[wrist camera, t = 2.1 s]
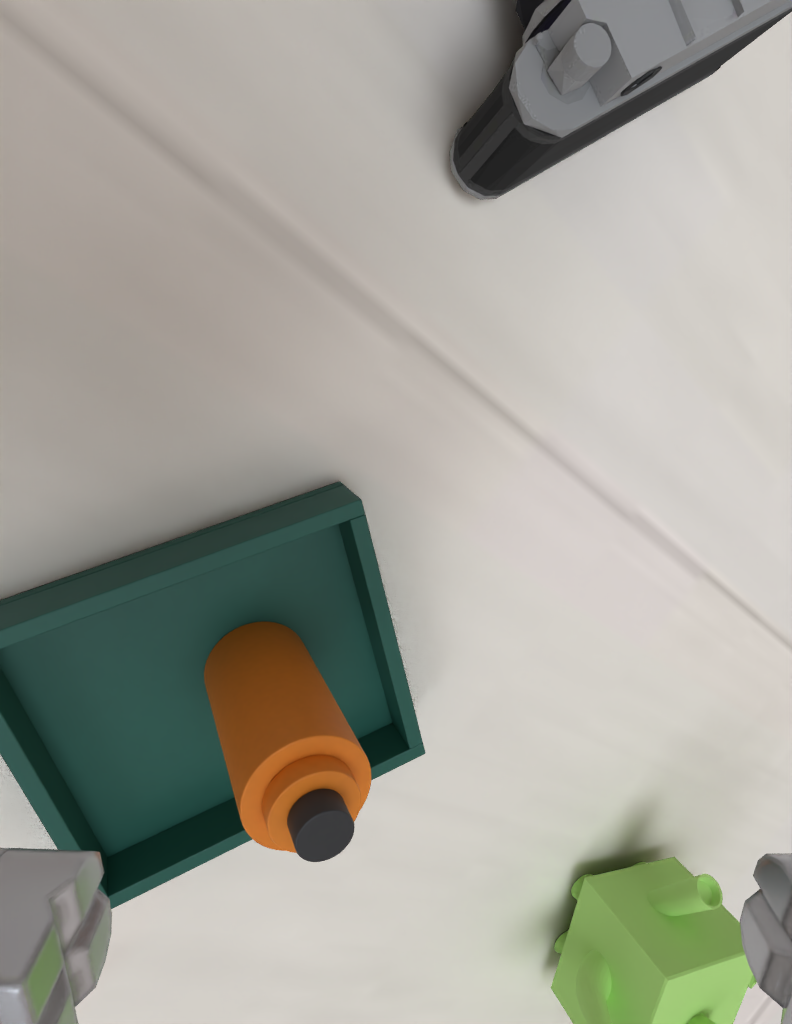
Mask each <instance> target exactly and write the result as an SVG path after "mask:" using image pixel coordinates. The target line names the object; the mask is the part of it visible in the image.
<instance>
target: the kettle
mask: <svg viewBox="0 0 792 1024" xmlns="http://www.w3.org/2000/svg"><path fill="white" fill-rule="evenodd" d="M571 894H572V896H573V897H574V898H575V899H576V900H577V904H576V908H575V911H574V914H573V917H572V921H571V924H570V927H569V930H568V931H566V932H564V933H563V934H562V935H561V936H560V937H559V938H558V939H557V941H556V942H555V946H554V949H555V951H556V952H558V953H561V956H560V960H559V963H558V966H557V969H556V973H555V976H554V979H553V983H552V986H551V989H552V991H553V992H554V994H555V995H556V997H557V998H558V1000H559V1002H560V1003H561V1005H562V1006H563V1008H564V1009H565V1011H566V1013H567V1014H568V1016H569V1017H570V1019H571V1020H572V1022H573V1024H733V1022H734V1020H735V1017H736V1015H737V1012H738V1010H739V1007H740V1005H741V1003H742V1000H743V998H744V995H745V993H746V990H747V988H748V987H750V988H752V987H753V986H754V985H755V984H756V982H757V981H756V979H755V977H754V975H753V973H752V971H751V969H750V967H749V965H748V961H747V958H746V955H745V952H744V949H743V946H742V938H741V928H740V923H739V922H738V921H737V920H736V919H735V918H734V917H733V916H732V915H731V914H730V912H729V911H728V910H727V909H726V908H725V907H724V906H723V905H722V899H723V898H722V891H721V889H720V886H719V884H718V883H717V881H716V880H715V879H714V878H713V877H711V876H710V875H708V874H702V875H699V876H696V877H694V876H693V875H692V874H691V873H690V872H689V871H688V870H687V869H686V868H685V867H684V866H683V865H682V864H681V863H680V862H679V861H678V860H677V859H676V858H675V857H672V858H667V859H663V860H659V861H654V862H650V863H645V862H639V863H636V864H635V865H633V866H632V867H628V868H624V869H620V870H616V871H611V872H607V873H602V874H598V875H594V876H593V875H592V874H586V875H583V876H581V877H580V878H579V879H578V880H577V881H576V882H575V883H574V885H573V886H572V889H571Z"/></svg>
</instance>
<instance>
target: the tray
mask: <svg viewBox="0 0 792 1024" xmlns="http://www.w3.org/2000/svg"><path fill="white" fill-rule="evenodd" d="M254 622H274V623H278V624H282V625H284V626H286V627H288V628H290V629H291V630H293V631H294V632H295V633H296V634H297V635H298V636H299V637H300V638H301V640H302V642H303V643H304V645H305V647H306V649H307V651H308V652H309V654H310V656H311V658H312V660H313V661H314V663H315V665H316V667H317V668H318V670H319V672H320V674H321V676H322V677H323V679H324V681H325V683H326V685H327V686H328V688H329V690H330V692H331V693H332V695H333V697H334V699H335V701H336V702H337V704H338V706H339V708H340V710H341V711H342V713H343V715H344V717H345V718H346V720H347V722H348V724H349V726H350V727H351V729H352V731H353V733H354V735H355V736H356V738H357V740H358V742H359V743H360V745H361V747H362V749H363V751H364V752H365V754H366V756H367V758H368V760H369V763H370V767H371V780H373V779H375V778H377V777H379V776H381V775H383V774H385V773H387V772H389V771H391V770H393V769H395V768H397V767H399V766H401V765H403V764H405V763H407V762H409V761H411V760H413V759H415V758H417V757H419V756H421V755H423V754H425V750H424V746H423V743H422V738H421V734H420V730H419V726H418V722H417V718H416V714H415V710H414V706H413V702H412V698H411V694H410V690H409V686H408V682H407V678H406V674H405V670H404V666H403V662H402V659H401V655H400V651H399V647H398V643H397V639H396V635H395V631H394V627H393V623H392V619H391V615H390V611H389V607H388V603H387V599H386V595H385V591H384V587H383V583H382V579H381V575H380V571H379V567H378V563H377V559H376V555H375V551H374V547H373V543H372V539H371V535H370V531H369V527H368V523H367V519H366V515H365V512H364V508H363V504H362V500H361V499H360V498H359V497H358V496H356V495H355V494H354V493H353V492H352V491H351V490H349V489H348V488H347V487H346V486H345V485H344V484H342V483H341V482H337V483H334V484H331V485H328V486H325V487H322V488H320V489H317V490H314V491H311V492H308V493H305V494H303V495H300V496H297V497H294V498H291V499H288V500H285V501H283V502H280V503H277V504H274V505H271V506H268V507H265V508H263V509H260V510H257V511H254V512H251V513H248V514H246V515H243V516H240V517H237V518H234V519H231V520H228V521H226V522H223V523H220V524H217V525H214V526H211V527H208V528H206V529H203V530H200V531H197V532H194V533H191V534H189V535H186V536H183V537H180V538H177V539H174V540H171V541H169V542H166V543H163V544H160V545H157V546H154V547H151V548H149V549H146V550H143V551H140V552H137V553H134V554H132V555H129V556H126V557H123V558H120V559H117V560H114V561H112V562H109V563H106V564H103V565H100V566H97V567H94V568H92V569H89V570H86V571H83V572H80V573H77V574H75V575H72V576H69V577H66V578H63V579H60V580H57V581H55V582H52V583H49V584H46V585H43V586H40V587H37V588H35V589H32V590H29V591H26V592H23V593H20V594H18V595H15V596H12V597H9V598H6V599H3V600H0V754H1V756H2V757H3V759H4V761H5V762H6V764H7V766H8V767H9V769H10V770H11V772H12V774H13V775H14V777H15V779H16V780H17V782H18V784H19V785H20V787H21V789H22V790H23V792H24V794H25V795H26V797H27V799H28V800H29V802H30V804H31V805H32V807H33V809H34V810H35V812H36V814H37V815H38V817H39V819H40V820H41V822H42V824H43V825H44V827H45V829H46V830H47V832H48V834H49V835H50V837H51V839H52V840H53V842H54V843H55V845H56V847H57V848H58V850H81V851H96V852H100V855H101V859H102V864H103V868H104V874H103V877H102V879H101V881H100V883H99V886H98V889H99V890H100V891H101V892H102V893H104V894H105V895H106V896H107V897H108V898H109V899H110V906H111V909H112V908H114V907H117V906H119V905H121V904H123V903H125V902H127V901H129V900H131V899H133V898H135V897H137V896H139V895H141V894H143V893H145V892H147V891H149V890H151V889H153V888H155V887H157V886H159V885H161V884H163V883H165V882H167V881H169V880H171V879H173V878H175V877H177V876H179V875H181V874H183V873H185V872H187V871H189V870H191V869H193V868H195V867H197V866H199V865H201V864H203V863H205V862H207V861H209V860H211V859H213V858H215V857H217V856H219V855H221V854H223V853H225V852H227V851H230V850H232V849H234V848H236V847H238V846H240V845H242V844H244V843H246V842H248V841H250V840H252V838H251V837H250V836H249V835H248V833H247V832H246V831H245V829H244V827H243V825H242V822H241V819H240V815H239V812H238V808H237V804H236V800H235V796H234V793H233V789H232V785H231V781H230V777H229V774H228V770H227V766H226V762H225V758H224V755H223V751H222V747H221V743H220V740H219V736H218V732H217V728H216V724H215V721H214V717H213V713H212V709H211V705H210V702H209V698H208V694H207V690H206V686H205V681H204V670H205V665H206V661H207V659H208V657H209V654H210V653H211V651H212V649H213V648H214V647H215V645H216V644H217V643H218V642H219V641H220V640H221V639H222V638H223V637H224V636H225V635H227V634H228V633H229V632H231V631H233V630H234V629H236V628H238V627H241V626H243V625H246V624H250V623H254Z"/></svg>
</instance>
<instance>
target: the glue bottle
mask: <svg viewBox="0 0 792 1024" xmlns="http://www.w3.org/2000/svg"><path fill="white" fill-rule="evenodd" d="M204 681H205V686H206V690H207V694H208V698H209V702H210V705H211V709H212V713H213V717H214V721H215V724H216V728H217V732H218V736H219V740H220V743H221V747H222V751H223V755H224V758H225V762H226V766H227V770H228V774H229V777H230V781H231V785H232V789H233V793H234V796H235V800H236V804H237V808H238V812H239V815H240V819H241V822H242V825H243V827H244V829H245V831H246V832H247V833H248V835H249V836H250V837H251V838H252V839H253V840H255V841H256V842H257V843H259V844H261V845H262V846H265V847H267V848H271V849H275V850H283V851H289V852H294V853H297V854H298V855H299V856H300V857H301V858H303V859H304V860H307V861H310V862H320V861H325V860H328V859H330V858H332V857H334V856H336V855H337V854H339V853H340V852H341V851H342V850H344V848H345V847H346V846H347V845H348V844H349V842H350V841H351V839H352V836H353V833H354V821H355V819H356V817H357V815H358V813H359V811H360V809H361V808H362V806H363V804H364V802H365V800H366V798H367V796H368V793H369V789H370V785H371V767H370V763H369V760H368V758H367V756H366V754H365V752H364V751H363V749H362V747H361V745H360V743H359V742H358V740H357V738H356V736H355V735H354V733H353V731H352V729H351V727H350V726H349V724H348V722H347V720H346V718H345V717H344V715H343V713H342V711H341V710H340V708H339V706H338V704H337V702H336V701H335V699H334V697H333V695H332V693H331V692H330V690H329V688H328V686H327V685H326V683H325V681H324V679H323V677H322V676H321V674H320V672H319V670H318V668H317V667H316V665H315V663H314V661H313V660H312V658H311V656H310V654H309V652H308V651H307V649H306V647H305V645H304V643H303V642H302V640H301V638H300V637H299V636H298V635H297V634H296V633H295V632H294V631H293V630H291V629H290V628H288V627H286V626H284V625H282V624H278V623H274V622H254V623H250V624H246V625H243V626H241V627H238V628H236V629H234V630H233V631H231V632H229V633H228V634H227V635H225V636H224V637H223V638H222V639H221V640H220V641H219V642H218V643H217V644H216V645H215V647H214V648H213V649H212V651H211V653H210V654H209V657H208V659H207V661H206V665H205V670H204Z"/></svg>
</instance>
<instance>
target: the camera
mask: <svg viewBox="0 0 792 1024" xmlns="http://www.w3.org/2000/svg"><path fill="white" fill-rule="evenodd" d="M791 11H792V0H517V4H516V12H517V14H518V16H519V18H520V21H521V23H522V25H523V27H524V29H525V32H524V34H523V36H522V39H523V46H522V47H521V48H520V49H519V50H518V51H517V52H516V56H515V58H514V59H513V61H512V63H511V66H510V68H509V69H508V71H507V72H506V74H505V75H504V76H503V78H502V79H501V81H500V82H499V83H498V85H497V86H496V87H495V89H494V90H493V92H492V93H491V94H490V95H489V97H488V98H487V99H486V100H485V102H484V103H483V104H482V105H481V107H480V108H479V109H478V110H477V112H476V113H475V114H474V115H473V116H472V118H471V119H470V120H469V121H468V122H467V123H465V124H464V126H463V127H461V128H459V129H458V130H457V133H456V136H455V139H454V141H453V144H452V147H451V150H450V152H449V153H450V162H451V172H452V173H453V175H454V176H455V178H456V180H457V181H458V183H459V184H460V186H461V187H462V189H463V190H464V191H466V192H467V193H469V194H471V195H473V196H475V197H477V198H478V199H496V198H498V197H500V196H502V195H503V194H505V193H507V192H508V191H510V190H512V189H514V188H515V187H517V186H519V185H521V184H522V183H524V182H526V181H528V180H529V179H531V178H533V177H535V176H536V175H538V174H540V173H542V172H543V171H545V170H547V169H549V168H550V167H552V166H554V165H555V164H557V163H559V162H561V161H562V160H564V159H566V158H568V157H569V156H571V155H573V154H575V153H576V152H578V151H580V150H582V149H583V148H585V147H587V146H589V145H590V144H592V143H594V142H596V141H597V140H599V139H601V138H602V137H604V136H606V135H608V134H609V133H611V132H613V131H615V130H616V129H618V128H620V127H622V126H623V125H625V124H627V123H629V122H630V121H632V120H634V119H636V118H637V117H639V116H641V115H643V114H644V113H646V112H648V111H650V110H651V109H653V108H655V107H656V106H658V105H660V104H662V103H663V102H665V101H667V100H669V99H670V98H672V97H674V96H676V95H677V94H679V93H681V92H683V91H684V90H686V89H688V88H690V87H691V86H693V85H695V84H697V83H698V82H700V81H702V80H703V79H705V78H707V77H709V76H710V75H712V74H713V73H714V72H715V71H717V70H718V69H719V68H720V66H721V65H723V64H724V63H725V62H726V61H728V60H729V59H730V58H732V57H733V56H734V55H736V54H737V53H738V52H739V51H741V50H742V49H743V48H745V47H746V46H747V45H748V44H750V43H751V42H752V41H754V40H755V39H756V38H758V37H759V36H760V35H761V34H763V33H764V32H765V31H767V30H768V29H769V28H771V27H772V26H773V25H775V24H776V23H777V22H778V21H780V20H781V19H782V18H784V17H785V16H786V15H788V14H789V13H790V12H791Z"/></svg>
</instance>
